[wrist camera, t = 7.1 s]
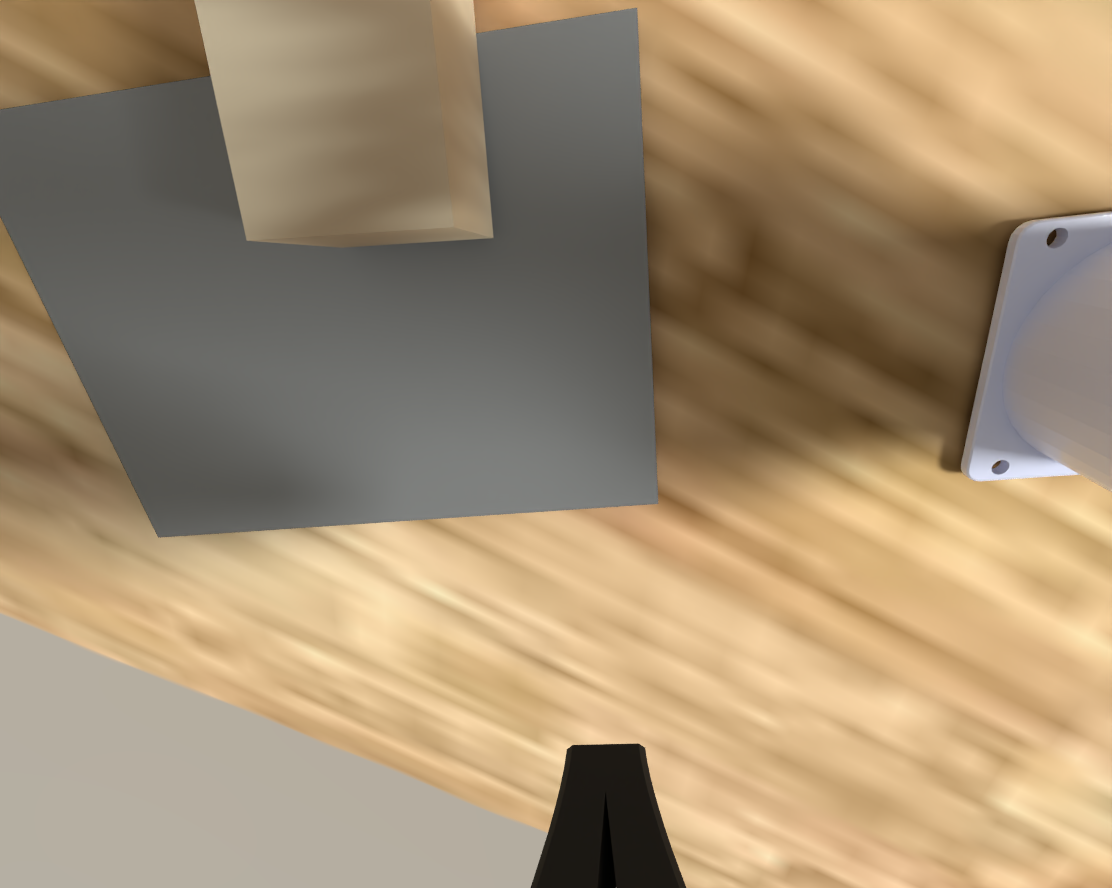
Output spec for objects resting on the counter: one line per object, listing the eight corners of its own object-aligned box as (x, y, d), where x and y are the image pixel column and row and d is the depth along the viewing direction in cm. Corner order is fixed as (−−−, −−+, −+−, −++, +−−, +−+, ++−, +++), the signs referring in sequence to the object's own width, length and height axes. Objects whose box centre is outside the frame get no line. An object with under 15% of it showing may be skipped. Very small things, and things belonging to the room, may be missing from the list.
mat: (635, 15, 14) (637, 7, 13) (656, 495, 19) (658, 503, 19) (-27, 120, 16) (-49, 117, 15) (169, 528, 21) (158, 537, 21)
